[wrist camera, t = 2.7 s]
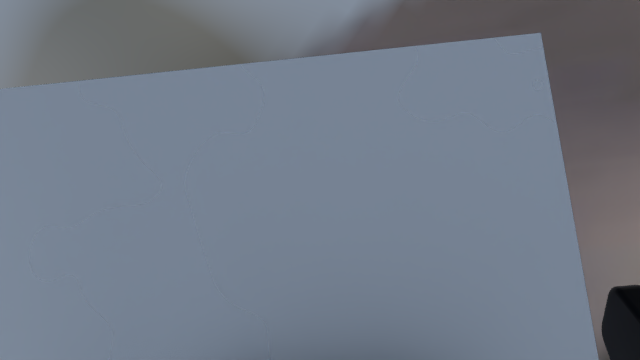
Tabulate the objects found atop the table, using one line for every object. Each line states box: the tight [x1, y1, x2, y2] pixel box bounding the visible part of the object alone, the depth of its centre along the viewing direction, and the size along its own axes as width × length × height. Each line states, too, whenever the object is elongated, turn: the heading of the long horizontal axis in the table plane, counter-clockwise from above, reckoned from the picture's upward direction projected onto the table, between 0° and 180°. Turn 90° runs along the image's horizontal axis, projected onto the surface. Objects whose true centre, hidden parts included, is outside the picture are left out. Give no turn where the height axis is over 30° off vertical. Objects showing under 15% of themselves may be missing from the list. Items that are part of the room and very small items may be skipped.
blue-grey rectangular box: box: [0, 33, 599, 360], centre depth 11 cm, size 5×5×12 cm
